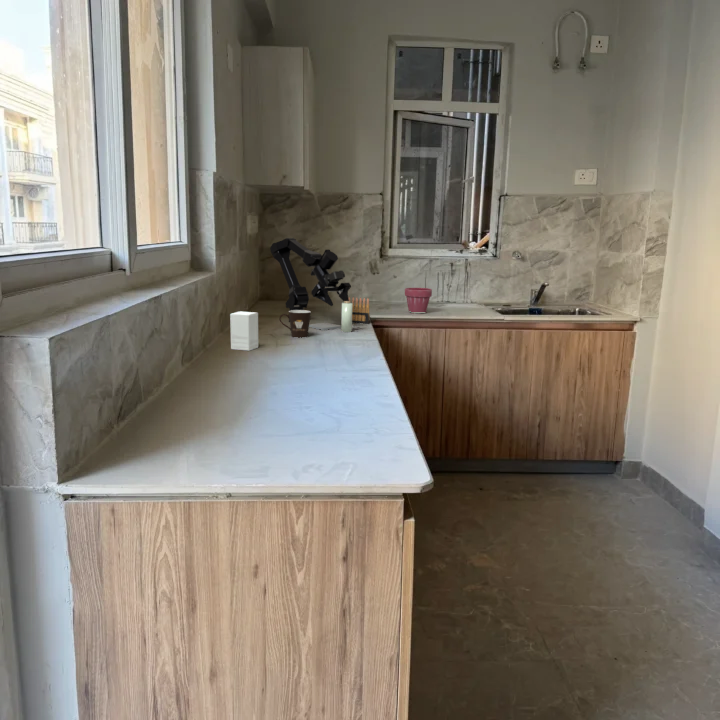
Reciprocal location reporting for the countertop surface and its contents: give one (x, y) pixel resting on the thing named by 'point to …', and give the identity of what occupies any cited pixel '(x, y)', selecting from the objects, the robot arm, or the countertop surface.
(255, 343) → the supplement box
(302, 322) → the coffee mug
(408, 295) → the plant pot
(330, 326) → the slate trivet
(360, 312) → the ammunition clip
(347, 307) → the stoneware bottle
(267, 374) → the countertop surface
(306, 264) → the robot arm
